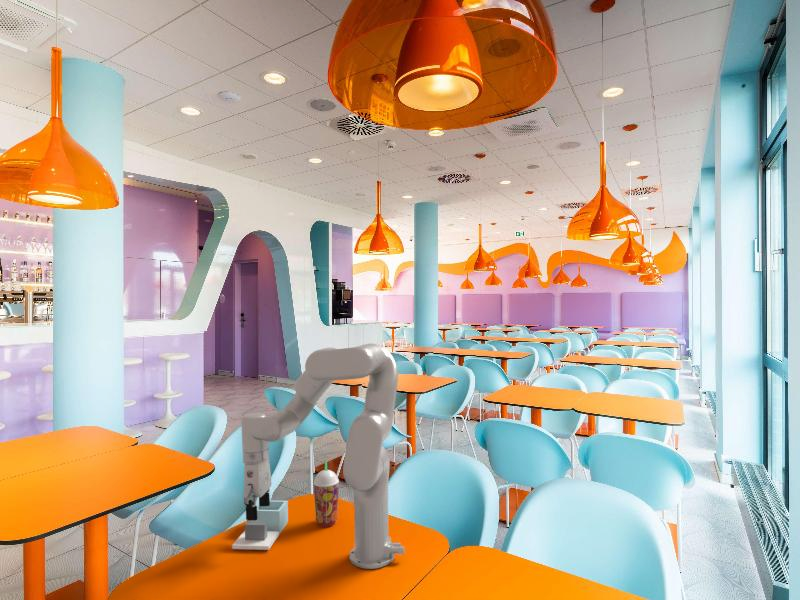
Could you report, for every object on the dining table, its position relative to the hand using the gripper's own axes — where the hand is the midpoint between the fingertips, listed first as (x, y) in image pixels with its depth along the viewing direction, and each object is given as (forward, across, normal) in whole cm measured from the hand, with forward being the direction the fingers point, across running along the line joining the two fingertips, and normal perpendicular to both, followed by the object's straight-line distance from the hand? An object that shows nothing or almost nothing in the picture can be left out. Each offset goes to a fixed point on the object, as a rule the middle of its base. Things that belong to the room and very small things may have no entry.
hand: (258, 512), depth 142 cm
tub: (+9, +11, +1) cm, 14 cm away
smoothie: (+10, +15, -17) cm, 24 cm away
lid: (+9, 0, +1) cm, 9 cm away
